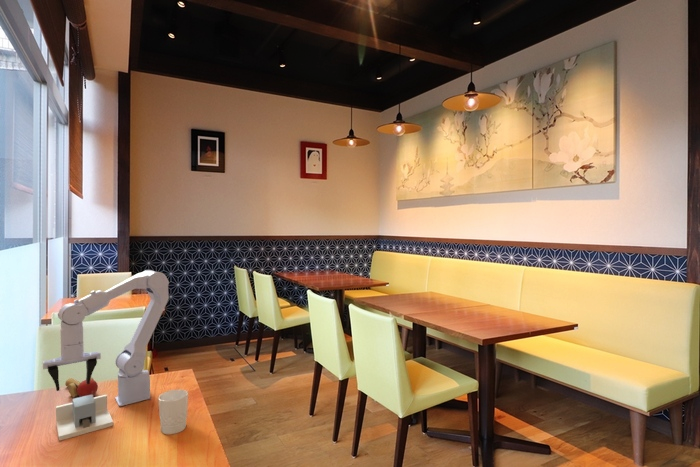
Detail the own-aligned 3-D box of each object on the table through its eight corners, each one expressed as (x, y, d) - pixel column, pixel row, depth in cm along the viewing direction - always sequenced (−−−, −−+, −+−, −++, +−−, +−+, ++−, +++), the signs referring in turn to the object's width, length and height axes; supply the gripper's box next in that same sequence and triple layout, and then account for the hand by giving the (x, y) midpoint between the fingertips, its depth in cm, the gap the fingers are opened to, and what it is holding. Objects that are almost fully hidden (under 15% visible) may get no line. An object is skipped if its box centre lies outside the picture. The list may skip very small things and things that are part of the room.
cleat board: (106, 410, 128) (106, 394, 127) (113, 425, 118) (112, 408, 118) (56, 423, 119) (55, 406, 119) (58, 440, 110) (58, 422, 110)
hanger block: (92, 413, 123) (92, 394, 123) (95, 422, 118) (95, 402, 117) (72, 418, 120) (72, 398, 120) (75, 428, 115) (74, 407, 114)
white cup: (194, 424, 119) (193, 391, 119) (174, 438, 112) (174, 402, 111) (173, 420, 122) (172, 387, 121) (152, 433, 114) (152, 398, 114)
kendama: (55, 394, 142) (77, 400, 132) (57, 376, 143) (79, 380, 133) (79, 391, 148) (102, 396, 138) (81, 373, 150) (104, 377, 139)
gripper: (98, 335, 131) (98, 376, 131) (42, 344, 121) (43, 388, 122) (101, 340, 125) (102, 383, 126) (42, 350, 116) (44, 396, 117)
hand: (73, 386), depth 123 cm, fingers open, 7 cm apart
